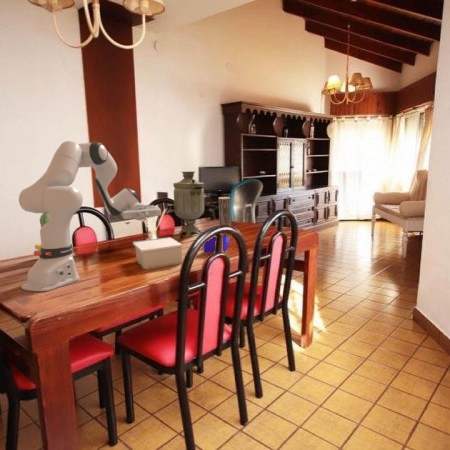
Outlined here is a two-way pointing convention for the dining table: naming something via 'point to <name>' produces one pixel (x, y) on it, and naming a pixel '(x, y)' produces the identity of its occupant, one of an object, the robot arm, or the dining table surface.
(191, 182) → the samovar
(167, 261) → the box
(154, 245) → the lid
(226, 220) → the paper tube
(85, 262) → the dining table surface
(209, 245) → the bracket
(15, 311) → the dining table surface
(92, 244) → the dining table surface
